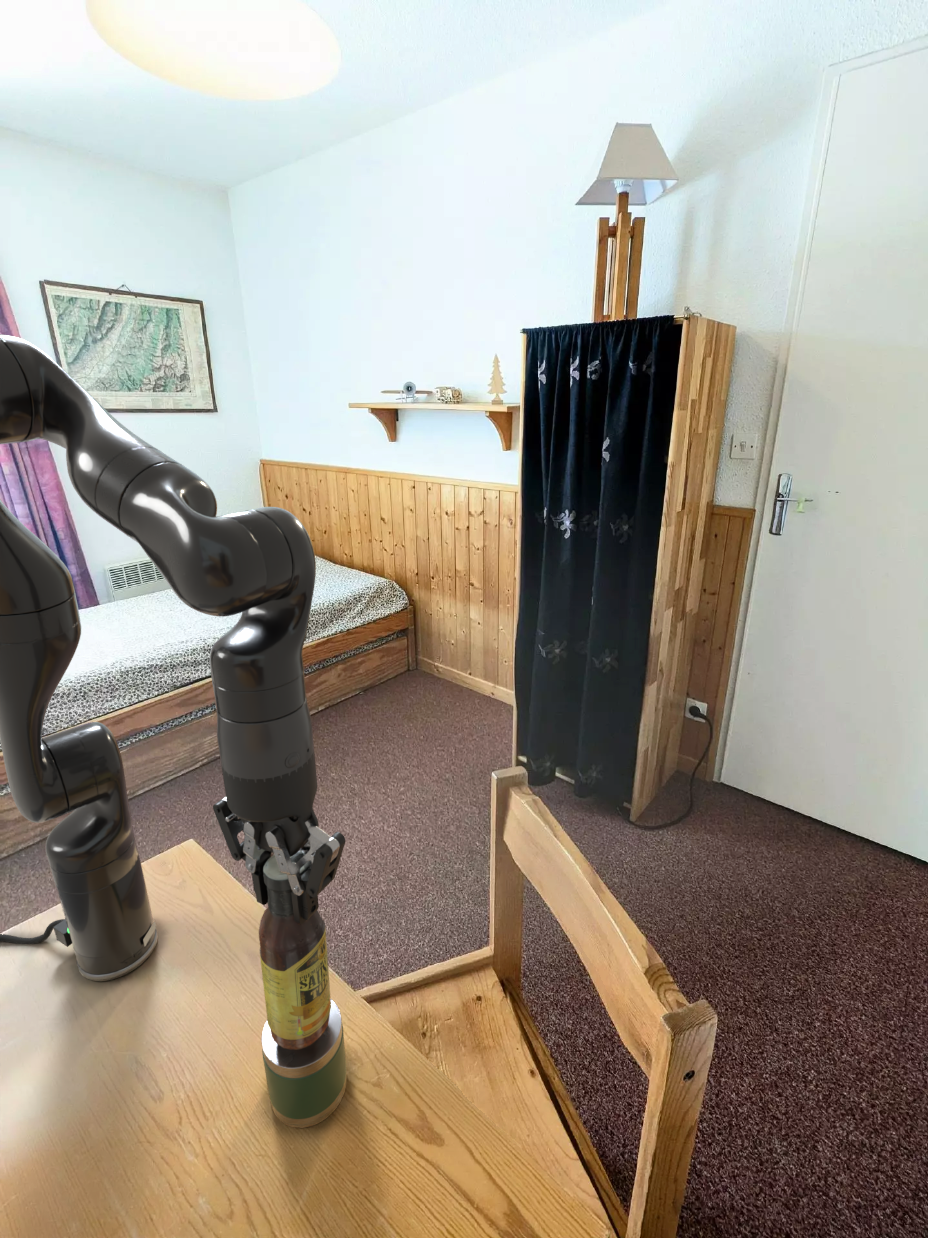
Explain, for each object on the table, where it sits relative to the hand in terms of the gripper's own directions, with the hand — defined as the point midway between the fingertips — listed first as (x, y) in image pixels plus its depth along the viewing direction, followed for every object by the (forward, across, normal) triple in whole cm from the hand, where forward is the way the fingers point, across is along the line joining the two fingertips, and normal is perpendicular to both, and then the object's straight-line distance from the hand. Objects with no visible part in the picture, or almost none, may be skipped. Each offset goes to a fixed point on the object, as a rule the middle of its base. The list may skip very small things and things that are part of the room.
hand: (286, 906), depth 57 cm
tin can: (+25, 0, 0) cm, 25 cm away
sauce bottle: (+15, 0, 0) cm, 15 cm away
